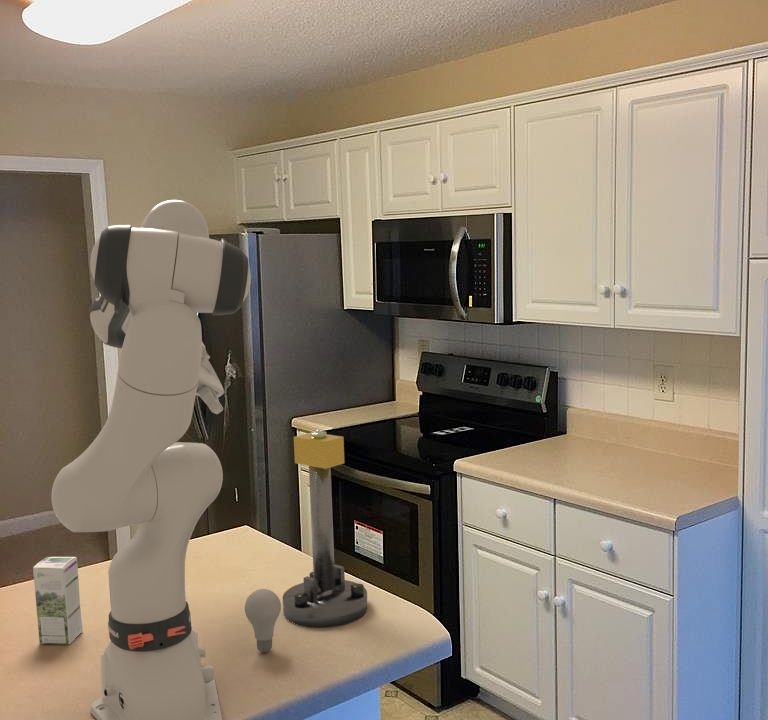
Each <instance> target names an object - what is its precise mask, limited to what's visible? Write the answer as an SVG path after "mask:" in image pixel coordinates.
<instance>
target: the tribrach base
mask: <svg viewBox="0 0 768 720" xmlns="http://www.w3.org/2000/svg"><path fill="white" fill-rule="evenodd" d="M334 567H335V578H336V579H337V580H338V582H339V584H338V586H337V587H335V588H334V589H332V590H329V591H326V592H323V593H321V594H319V595H317V579H315V578H314V572H313V571H311V572H310V573H309V576H305V577H303V582H300V583H298V584H295V585H293V586H291V587H290V588H288V589H287V590H286V591H285V592H284V593H283V595H282V611H283V613H282V614H283V617H284V616H285V617H284V618H285V620H287V621H288V620H289V621H288V622H290V623H291V622H293V623H292V624H294V623H295V624H294V625H296V624H298V625H297V626H300V625H301V626H300V627H304V626H305V627H306V628H313V629H314V628H315V629H318V628H319V629H325V628H327V629H328V628H335V627H341V626H345V625H348V624H351V623H355V622H357V621H358V620H360V619H361V618H363V617H365V615H366V614H367V612H368V591H367V589H366V588H365V586H364V584H363V583H358V582H355V581H351V580H346V579H345V578H346V577H345V566H342V565H339V564H334Z"/></svg>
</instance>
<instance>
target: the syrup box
mask: <svg viewBox="0 0 768 720" xmlns="http://www.w3.org/2000/svg"><path fill="white" fill-rule="evenodd" d="M32 570H33V582H34V583H33V584H34V593H35V595H34V596H35V607H36V618H37V628H38V639H39V640H38V641H39V644H40V645H64V646H66V645H68V646H69V645H70V644H72V643H73V642H74V641H75V640H76V639H77V638H78V637H79V636H80V635H81V634H82V633H83V620H82V611H81V610H82V609H81V598H80V595H81V594H80V583H79V582H80V581H79V580H80V579H79V569H78V558H77V556H46V557H44V558H43V559H41V560H40V561H38V562H37V563H36V564H35V565H34V566H33V567H32ZM80 633H81V634H80ZM79 634H80V635H79ZM78 635H79V636H78ZM77 636H78V637H77ZM76 637H77V638H76ZM75 638H76V639H75Z"/></svg>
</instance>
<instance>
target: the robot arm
mask: <svg viewBox="0 0 768 720" xmlns="http://www.w3.org/2000/svg"><path fill="white" fill-rule="evenodd" d="M89 264H90V265H89V267H90V272H91V276H92V279H93V282H94V287H95V289H96V290H97V292H98V293H99V294H100V296H99V297H96V298H94V299H93V302H92V304H91V305H90V309H89V319H90V324H91V327H92V329H93V331H94V333H95V335H96V336H97V337H98V338H99V340H101V342H102V343H103V344H104V345H107V346H109V347H113V348H117V349H121V350H120V354H119V355H120V356H119V361H118V367H117V376H116V382H115V386H114V387H115V388H114V393H113V398H112V404H111V408H110V410H109V414H108V417H107V419H106V422H105V423H104V425H103V427H102V429H101V430H100V431H99V433H98V435H97V436H96V437H95V438H94V440H93V442H91V444H90V445H89V446H88V447H87V448H86V449H85V450H84V451H83V452H82V453H81V454H80V455H79V456H78V457H76V458H75V459H74V460H73V461H71V462H69V463H68V464H67V465H65V466H64V467H62V468H61V469H60V471H59V472H58V473H57V475H56V477H55V479H54V481H53V483H52V488H51V495H50V496H51V498H50V499H51V505H52V509H53V511H54V514H55V516H56V518H57V519H58V521H59V522H60V523H61V525H63V526H64V527H65V528H66V529H68V530H69V531H71V532H72V533H97V532H98V533H99V532H109V531H113V530H117V529H123V528H126V527H129V526H135V525H138V524H139V525H138V527H137V530H136V532H135V533H134V535H133V537H132V538H131V539H130V540H129V541H128V542H127V543H126V544H125V545H123V546H122V547H121V548H120V549H119V550H118V551H117V552H116V553H115V554H114V556H113V557H112V559H111V562H110V564H109V568H108V573H107V574H108V588H109V600H110V602H109V603H110V612H109V613H108V621H107V628H108V633H109V639H110V642H109V644H108V645H107V647H106V648H105V650H104V651H103V652H102V653H101V654H100V680H101V681H100V685H101V687H100V688H101V689H100V690H101V697H99V698H97V699H96V700H95V701H93V702H92V703H91V705H90V714H91V715H92V716H93V717H94V719H96V720H223V715H222V710H221V705H220V699H219V695H218V694H219V693H218V691H217V690H218V689H217V685H216V680H215V673H214V666H213V664H208V665H207V664H206V665H202V662H201V659H202V658H205V657H206V655H207V654H206V648H205V647H202V648H201V647H200V648H199V635H198V632H196V631H194V630H193V627H192V615H191V610H190V608H189V607H190V606H189V603H188V601H187V600H186V599H187V598H186V559H187V552H188V551H187V550H188V546H189V543H190V539H191V537H192V534H193V532H194V530H195V528H196V525H197V524H198V521H199V520H200V518H201V517H202V515H203V513H204V512H205V511H206V509H207V508H208V507H209V506H210V505H211V504H212V503H213V502H214V501H215V500H216V499H217V498H218V497H219V496H218V495H219V494H220V491H221V488H222V485H223V480H224V478H223V476H224V473H223V467H222V464H221V461H220V459H219V457H218V455H217V453H216V452H215V451H214V450H213V449H212V448H211V447H210V446H209V445H207V444H206V443H201V442H183V441H182V442H181V441H180V439H181V438H182V437H183V436H184V435H185V434H186V432H187V431H188V429H189V427H190V425H191V422H192V416H193V413H194V409H195V408H194V407H195V402H196V397H197V396H198V397H200V399H201V400H202V401H203V403H204V404H205V405H206V406H207V407H208V409H209V411H211V413H213V414H216V415H219V414H220V413H221V412H223V411H224V407H223V406H222V404H221V403H220V401H219V400H220V399H219V398H220V397H221V396H223V395H224V394H225V390H224V387H223V385H222V383H221V381H220V378H219V377H218V375H217V373H216V371H215V369H214V368H213V367H214V366H212V363H211V362H210V361H209V360H210V358H211V356H210V355H209V353H208V351H207V350H206V345H205V344H204V342H203V339H202V338H203V336H202V335H203V334H202V332H203V331H202V324H201V319H200V318H199V316H198V314H199V313H200V314H212V316H225V315H226V316H227V315H228V316H229V315H233V314H235V313H236V312H238V310H240V309H241V307H242V306H243V303H244V302H245V299H246V298H247V297H248V294H249V292H250V287H251V283H252V272H251V267H250V264H249V257H248V256H247V255H246V254H245V253H244V251H243V250H242V249H241V248H240V247H238V246H236V245H235V244H232V243H229V242H228V241H227V240H226V239H225V238H221V239H213V238H210V234H209V227H208V223H207V221H206V218H205V217H204V215H203V213H202V212H201V211H200V210H199V208H197V207H196V206H195V205H193V204H191V203H189V202H188V201H185V200H180V199H179V200H178V199H170V200H165V201H162V202H160V203H158V204H157V205H155V206H154V207H153V208H151V209H150V211H149V212H148V214H146V216H145V217H144V219H143V220H142V223H141V224H140V227H132V225H131V224H116V225H109V226H107V227H105V228H104V229H103V230H102V231H101V233H100V236H99V237H98V239H96V241H95V243H94V245H93V247H92V250H91V254H90V261H89ZM197 313H198V314H197Z"/></svg>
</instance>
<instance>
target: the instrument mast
mask: <svg viewBox="0 0 768 720" xmlns="http://www.w3.org/2000/svg"><path fill="white" fill-rule="evenodd" d="M344 438H345V437H344V436H342V435H341V436H340V435H333V434H327V431H324V430H320V429H316V430H315V431H311V432H308V433H303V434H301V435H296V436H293V449H294V452H293V453H294V464H297V465H303V466H308V472H309V473H308V476H309V480H308V481H309V498H310V520H311V521H310V522H311V545H312V572H314V578H315V579H317V595H319V594H321V593H323V592H326V591H329V590H332V589H334V588H335V587H337V586H338V584H339V582H338V580H337V579H336V578H335V567H334V565H335V547H334V546H335V545H334V542H335V541H334V526H333V525H334V524H333V523H334V521H333V520H334V519H333V497H332V472H331V468H333V467H337V466H340V465H343V464H345V447H344V445H345V442H344V441H345V440H344Z"/></svg>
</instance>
